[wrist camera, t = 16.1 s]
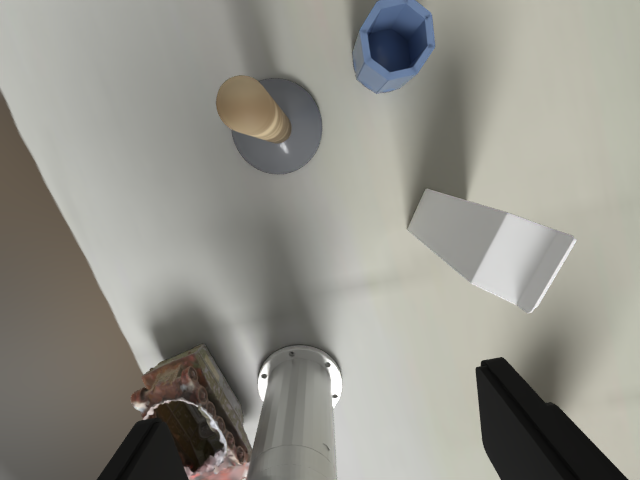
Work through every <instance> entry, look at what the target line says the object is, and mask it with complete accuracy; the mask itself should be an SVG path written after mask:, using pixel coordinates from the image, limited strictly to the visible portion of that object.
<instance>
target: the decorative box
mask: <svg viewBox="0 0 640 480" xmlns="http://www.w3.org/2000/svg"><path fill="white" fill-rule="evenodd" d="M142 380H143V382H144V384H145V386H146V388H142V389H140V390H137V391H136V392H134V394H132V396H131V403H132V405H133V406H134V408H135V409H137V410H139V411H141V413H142V417H143V420H146V419H152V418H160V419H161V420H162V422H166V423H167V425H168V427H169V430H170V433H171V435H172V438H173V440H174V443H175V445H176V448H177V451H178V453H179V456H180V458H181V461H182V463H183V466H184V469H185V471H186V474H187V476H188V479H189V480H242V479H244V478H246V477H247V472H248V468H249V463H250V459H251V454H252V448H251V445H250V443H249V440H248V437H247V434H246V433H245V431H244V428H243V422H244V418H243V414H242V409H241V405H240V403H239V401H238V400H237V398H236V396H235V395H234V393H233V391H232V390H231V388H230V386H229V385H228V383H227V381H226V380H225V378H224V376H223V375H222V373H221V371H220V369H219V368H218V366H217V364H216V363H215V361H214V359H213V357H212V356H211V354H210V352H209V351H208V349H207V348H206V346H205V344H200V345H198V346H195V347H194V348H193V349H191V350H188V351H186V352H183V353H181V354H179V355H177V356H174V357H172V358H170V359H166V360H164V361H161V362H160V363H159V364H158V365H157V366H156V367H154V368H151V369H150V371H148V372H146V374H144V375H143V376H142Z"/></svg>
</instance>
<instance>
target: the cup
mask: <svg viewBox="0 0 640 480" xmlns="http://www.w3.org/2000/svg"><path fill="white" fill-rule="evenodd" d="M434 48H435V39H434V30H433V20H432V14H431V13H430V12H429V11H428V10H427V9H425V8H424V7H423V6H422V5H420V4H419V3H418V2H417V1H415V0H380V1H377V2H376V4H375V5H374V7H373V9H372V10H371V12H370V14H369V15H368V17H367V18H366V20H365V22H364V23H363V25H362V27H361V28H360V30H359V33H358V36H357V40H356V43H355V46H354V49H353V52H352V55H353V67H354V71H355V74H356V79H357V80H358V81H359V82H361V83H362V84H363V85H364V86H365V87H366V88H368V89H369V90H371V91H373V92H374V93H376V94H377V93H385V92H390V91H393V90H396V89H400V88H401V87H402V86H403V85H405V84H406V83H407V82H408V81H409V80H411V79H412V78H413V77H414V76H415V75H416V74H417V73H418V72H419V71H420V69H421V68H422V66H423V65H424V63H425V62H426V60H427V59H428V57H429V56H430V54H431V53H432V51H433V50H434Z"/></svg>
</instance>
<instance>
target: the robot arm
mask: <svg viewBox="0 0 640 480" xmlns="http://www.w3.org/2000/svg"><path fill="white" fill-rule="evenodd" d="M476 379H477V390H478V400H479V411H480V421H481V432H482V441H483V445H484V448H485V451H486V453H487V455H488V457H489V459H490V461H491V463H492V464H493V466H494V468H495V470H496V472H497V473H498V475H499V477H500V479H501V480H628V479H627V478H626V477H625V476H624V475H623V474H622V473H621V472H620V471H619V469H618V468H617V467H616V466H615V465H614V464H613V463H612V462H611V461H610V460H609V459H608V458H607V457H606V456H605V455H604V454H603V453H602V452H601V451H600V450H599V449H598V448H597V446H596V445H595V444H594V443H593V442H592V441H591V440H590V439H589V438H588V437H587V436H586V435H585V434H584V433H583V432H582V431H581V430H580V429H579V428H578V427H577V426H576V425H575V424H574V422H573V421H572V420H571V419H570V418H569V417H568V416H567V415H566V414H565V413H564V412H563V411H562V410H561V409H560V408H559V407H558V406H557V405H555V404H553V403H551V402H549V403H545V402H544V401H543V400H542V399H541V398H540V397H539V396H538V394H537V393H536V392H535V391H534V390H533V389H532V388H531V387H530V386H529V385H528V384H527V383H526V381H525V380H524V379H523V378H522V377H521V376H520V375H519V374H518V373H517V372H516V371H515V369H514V368H513V367H512V366H511V365H510V364H509V363H508V362H507V361H506V360H505V359H504V358H502V357H500V358H494V359H489V360H483V361H481V366H480V367H476ZM257 384H258V392H259V395H260V398H261V400H262V401H263V406H262V410H261V415H260V419H259V423H258V428H257V432H256V437H255V441H254V446H253V450H252V454H251V459H250V463H249V468H248V472H247V477H246V480H337V467H336V449H335V431H334V414H333V407H334V406H335V405H336V403H337V402H338V400H339V398H340V395H341V393H342V377H341V372H340V370H339V367H338V365H337V364H336V362H335V361H334V360H333V359H332V358H331V357H330V356H329V355H328V354H327V353H325V352H323V351H322V350H320V349H317V348H314V347H311V346H306V345H295V346H288V347H285V348H282V349H280V350H278V351H276V352H274V353H273V354H272V355H271V356H269V357H268V358H267V360H266V361H265V362H264V364H263V365H262V367H261V369H260V373H259V376H258V382H257ZM97 480H189V479H188V476H187V474H186V471H185V469H184V466H183V463H182V461H181V458H180V456H179V453H178V451H177V448H176V445H175V443H174V440H173V438H172V435H171V433H170V430H169V427H168V425H167V423H166V422H162V420H161V419H160V418H152V419H146V420H141V421H138V422H137V423H136V424H135V425H134V426H133V428H132V429H131V431H130V432H129V434H128V435H127V437H126V438H125V440H124V441H123V442H122V444H121V445H120V447H119V448H118V450H117V451H116V453H115V454H114V456H113V457H112V459H111V460H110V461H109V463H108V464H107V466H106V467H105V469H104V470H103V472H102V473H101V474H100V476H99V477H98V479H97Z"/></svg>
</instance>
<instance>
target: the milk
mask: <svg viewBox="0 0 640 480" xmlns="http://www.w3.org/2000/svg"><path fill="white" fill-rule="evenodd" d="M407 230H408V231H409V232H410V233H411V234H412V235H414V236H415V237H416V238H417V239H418V240H420V241H421V242H422V243H423V244H424V245H426V246H427V247H428V248H429V249H430V250H432V251H433V252H434V253H435V254H436V255H437V256H439V257H440V258H441V259H442V260H443V261H445V262H446V263H447V264H448V265H449V266H451V267H452V268H453V269H454V270H455V271H457V272H458V273H459V274H460V275H461V276H463V277H464V278H465V279H466V280H467V281H469V282H470V283H471V284H473V285H475V286H477V287H479V288H481V289H483V290H485V291H488V292H490V293H492V294H494V295H496V296H498V297H500V298H502V299H504V300H507V301H509V302H511V303H513V304H515V305H517V306H518V307H519V308H521V309H522V310H523V311H525V312H526V313H531V312H533V310H534V309H535V307H538V305H539V303H540V302H541V300H542V298H543V297H544V295H545V293H546V292H547V290H548V288H549V287H550V285H551V283H552V281H553V280H554V278H555V276H556V275H557V273H558V271H559V270H560V268H561V266H562V265H563V263H564V261H565V259H566V258H567V256H568V254H569V253H570V251H571V249H572V248H573V246H574V244H575V243H576V241H577V239H575V238H574V236H573V235H570V234H567V233H564V232H561V231H558V230H555V229H552V228H549V227H547V226H544V225H541V224H538V223H536V222H533V221H530V220H527V219H525V218H522V217H519V216H517V215H514V214H511V213H508V212H505V211H501V210H498V209H494V208H491V207H488V206H484V205H481V204H478V203H474V202H471V201H467V200H464V199H461V198H457V197H454V196H451V195H447V194H444V193H440V192H437V191H434V190H430V189H427V188H426V189H425V191H424V193H423V195H422V198H421V200H420V202H419V204H418V207H417V209H416V211H415V213H414V215H413V218H412V220H411V222H410V224H409V226H408V229H407Z"/></svg>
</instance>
